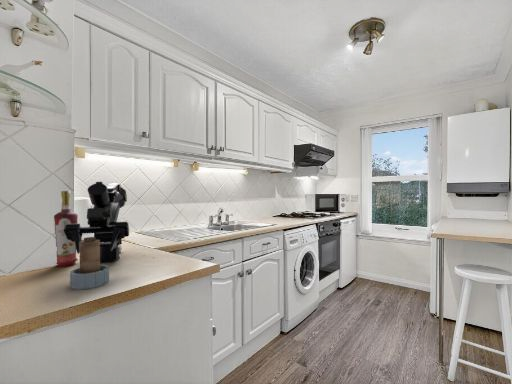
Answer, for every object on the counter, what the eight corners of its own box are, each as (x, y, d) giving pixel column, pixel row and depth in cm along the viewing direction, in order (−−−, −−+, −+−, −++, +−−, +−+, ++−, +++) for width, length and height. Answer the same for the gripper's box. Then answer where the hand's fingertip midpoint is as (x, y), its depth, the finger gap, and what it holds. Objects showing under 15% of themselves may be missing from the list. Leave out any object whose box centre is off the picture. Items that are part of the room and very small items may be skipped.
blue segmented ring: (62, 290, 74) (62, 275, 74) (83, 278, 84) (83, 265, 84) (98, 289, 75) (97, 274, 75) (114, 277, 85) (114, 264, 85)
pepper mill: (76, 282, 78) (75, 238, 78) (93, 277, 83) (92, 235, 83) (87, 284, 76) (86, 239, 76) (104, 279, 81) (103, 236, 81)
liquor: (79, 261, 105) (78, 190, 105) (76, 265, 99) (75, 191, 99) (57, 263, 102) (55, 191, 102) (52, 268, 96) (51, 191, 95)
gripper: (64, 199, 87) (52, 239, 76) (127, 198, 93) (124, 235, 83) (72, 220, 94) (62, 259, 84) (130, 218, 100) (127, 254, 90)
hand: (94, 251), depth 85 cm, fingers open, 9 cm apart
